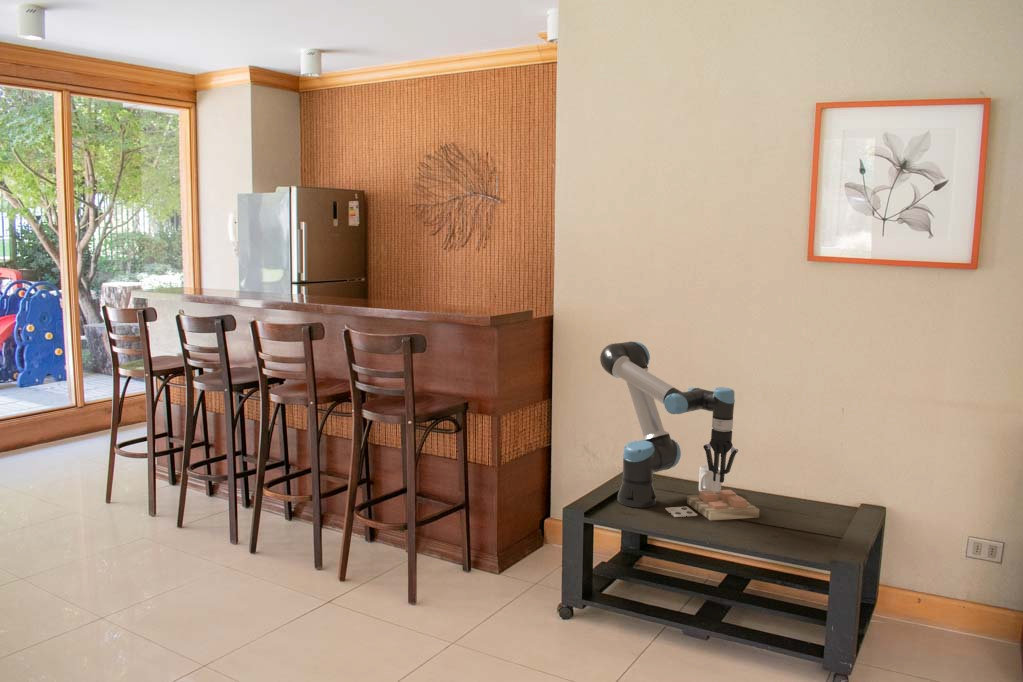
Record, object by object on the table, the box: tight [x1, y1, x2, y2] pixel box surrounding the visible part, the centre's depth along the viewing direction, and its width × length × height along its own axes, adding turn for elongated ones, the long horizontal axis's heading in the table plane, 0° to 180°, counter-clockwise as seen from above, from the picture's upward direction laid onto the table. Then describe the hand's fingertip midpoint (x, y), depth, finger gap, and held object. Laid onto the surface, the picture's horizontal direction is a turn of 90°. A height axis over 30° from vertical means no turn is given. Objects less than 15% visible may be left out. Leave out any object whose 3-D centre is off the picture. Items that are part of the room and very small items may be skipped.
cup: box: [698, 464, 720, 494], centre depth 337 cm, size 8×12×10 cm
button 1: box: [698, 491, 717, 502], centre depth 319 cm, size 5×5×4 cm
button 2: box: [709, 501, 727, 509], centre depth 312 cm, size 5×5×4 cm
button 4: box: [728, 495, 748, 508], centre depth 313 cm, size 5×5×4 cm
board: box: [686, 494, 760, 521], centre depth 317 cm, size 20×20×3 cm
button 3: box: [718, 489, 737, 501], centre depth 321 cm, size 5×5×4 cm
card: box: [664, 506, 698, 518], centre depth 313 cm, size 9×9×1 cm
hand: (717, 489), depth 311 cm, fingers closed
